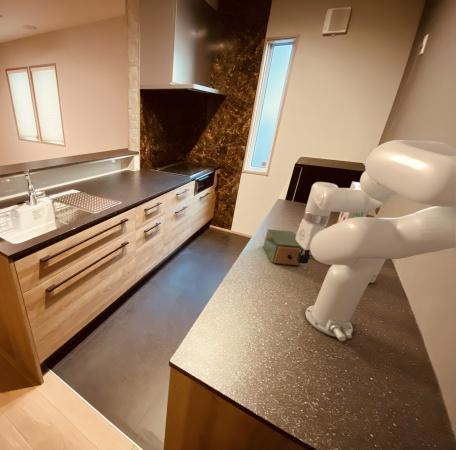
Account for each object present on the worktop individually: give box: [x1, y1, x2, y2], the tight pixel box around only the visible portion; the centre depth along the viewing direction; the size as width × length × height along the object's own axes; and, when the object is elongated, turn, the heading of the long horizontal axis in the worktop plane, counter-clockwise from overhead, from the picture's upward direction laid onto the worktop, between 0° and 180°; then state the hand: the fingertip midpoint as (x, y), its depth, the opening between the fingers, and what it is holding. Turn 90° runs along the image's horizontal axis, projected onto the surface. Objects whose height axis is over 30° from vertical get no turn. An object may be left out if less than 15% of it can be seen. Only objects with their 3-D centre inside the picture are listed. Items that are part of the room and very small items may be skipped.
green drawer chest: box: [262, 229, 300, 266], centre depth 113 cm, size 15×12×10 cm
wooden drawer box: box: [273, 246, 301, 266], centre depth 111 cm, size 15×10×8 cm
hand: (302, 262), depth 94 cm, fingers closed
